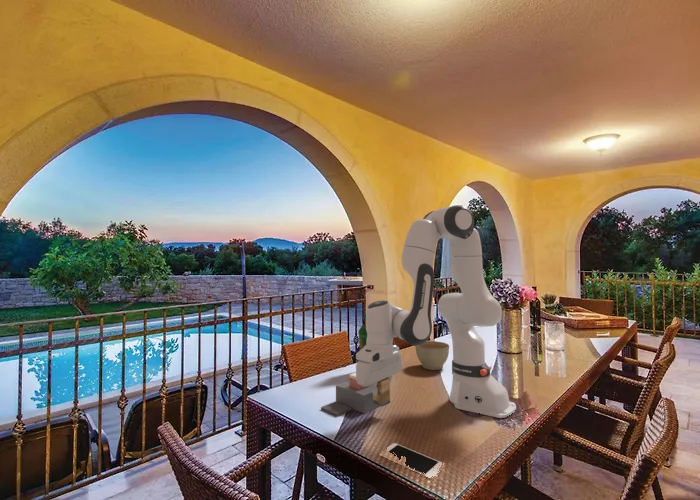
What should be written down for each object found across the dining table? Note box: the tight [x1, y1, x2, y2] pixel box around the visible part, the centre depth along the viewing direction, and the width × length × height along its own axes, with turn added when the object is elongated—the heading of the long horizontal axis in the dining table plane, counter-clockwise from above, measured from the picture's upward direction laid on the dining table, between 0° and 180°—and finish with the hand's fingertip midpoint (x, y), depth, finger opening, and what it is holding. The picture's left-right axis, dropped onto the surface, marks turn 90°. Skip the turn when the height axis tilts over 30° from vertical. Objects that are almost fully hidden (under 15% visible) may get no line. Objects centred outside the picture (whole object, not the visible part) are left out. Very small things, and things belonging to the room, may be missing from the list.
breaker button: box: [348, 372, 369, 391], centre depth 126 cm, size 5×5×5 cm
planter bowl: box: [414, 340, 450, 371], centre depth 168 cm, size 16×16×11 cm
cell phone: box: [386, 442, 445, 479], centre depth 90 cm, size 8×16×1 cm, turn 48°
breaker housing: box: [335, 380, 380, 414], centre depth 126 cm, size 14×10×6 cm
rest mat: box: [320, 401, 353, 417], centre depth 121 cm, size 8×7×1 cm
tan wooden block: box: [373, 378, 391, 407], centre depth 116 cm, size 4×4×8 cm
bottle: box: [358, 313, 367, 351], centre depth 161 cm, size 11×11×28 cm
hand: (381, 391), depth 116 cm, fingers closed on tan wooden block, 4 cm apart
